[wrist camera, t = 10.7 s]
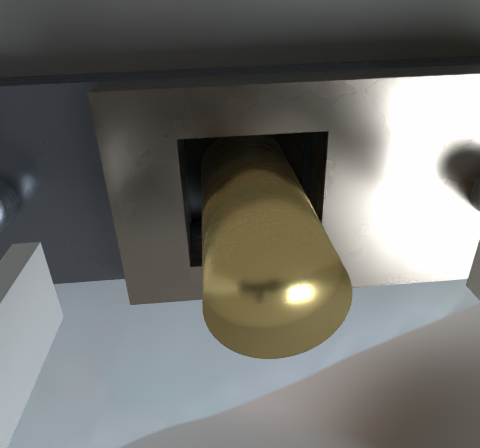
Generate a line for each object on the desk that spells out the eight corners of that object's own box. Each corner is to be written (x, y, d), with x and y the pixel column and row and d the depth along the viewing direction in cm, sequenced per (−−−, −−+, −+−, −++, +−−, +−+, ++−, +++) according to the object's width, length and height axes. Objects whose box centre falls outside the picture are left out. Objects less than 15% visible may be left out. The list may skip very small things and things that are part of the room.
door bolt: (-28, 267, 21) (-121, 377, 15) (-104, 82, 17) (-279, 132, 11) (466, 232, 23) (565, 319, 16) (513, 54, 18) (671, 83, 12)
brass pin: (204, 208, 21) (208, 365, 12) (198, 129, 19) (195, 246, 10) (284, 202, 21) (345, 352, 12) (285, 123, 19) (359, 233, 10)
